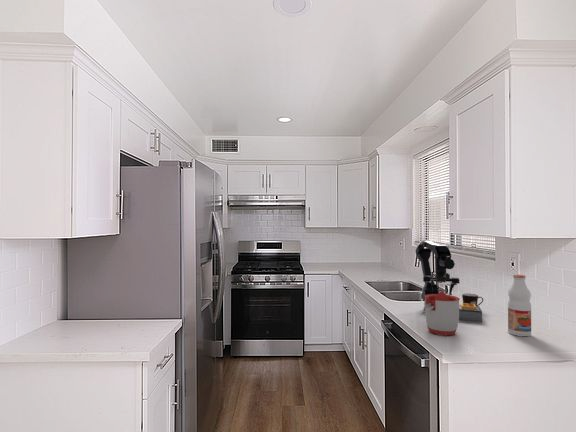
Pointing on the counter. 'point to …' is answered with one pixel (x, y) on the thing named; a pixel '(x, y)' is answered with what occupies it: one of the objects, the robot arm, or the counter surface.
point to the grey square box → (470, 312)
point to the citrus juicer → (442, 313)
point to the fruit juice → (519, 308)
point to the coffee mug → (470, 298)
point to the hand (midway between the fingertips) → (440, 294)
